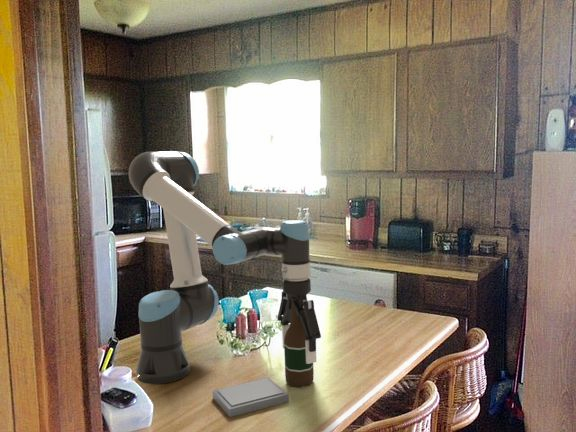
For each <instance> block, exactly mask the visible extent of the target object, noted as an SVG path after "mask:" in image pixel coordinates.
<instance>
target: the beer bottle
mask: <svg viewBox="0 0 576 432" xmlns="http://www.w3.org/2000/svg"><path fill="white" fill-rule="evenodd" d="M295 300H296V299H295V298H293V297H291V299H290V301H291V322H290V323H289V324H290V327H289V328H288V330H287V332H286V334H285V338H284V348H283V350H284V373H285V375H284V377H285V382H286V383H287V384H288V385H289V386H290V387H292V388H298V389H299V388H305V387H309V386H311V384H313V382H314V376H315V375H314V371H315V370H314V363H310V364H307V363H306V346H305V339H306V337H307V336H306V334H305V331H304V328H303V325H302V323H301V320H300V317H298V316H297V314H296V311H295V308H293V305H292V301H295Z"/></svg>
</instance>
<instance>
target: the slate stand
mask: <svg viewBox="0 0 576 432" xmlns="http://www.w3.org/2000/svg"><path fill="white" fill-rule="evenodd" d="M289 396H290V394H289V393H288V392H287V391H286V390H284V389H283V388H282V387H281V386H279V384H277V383H276V382H275V381H274V380H272V379H271V378H270V377H265V378H260V379H256V380H252V381H248V382H244V383H241V384H235V385H232V386H227V387H223V388H218V389H215V390H212V399H213V400H214V401H215V402H216V403H217V405H218V406H220V408H221V409H222V410H223V411H224V413H225V414H226V415H227V416H228V417H229V418H232V417H236V416H240V415H243V414H248V413H250V412H251V413H253V412H254V411H256V412H257V411H258V410H263V409H266V408H270V407H273V406H278V405H281V404H284V403H285V404H286V403H289V402H290V397H289Z"/></svg>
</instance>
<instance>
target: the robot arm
mask: <svg viewBox="0 0 576 432" xmlns="http://www.w3.org/2000/svg"><path fill="white" fill-rule="evenodd" d="M128 179H129V182H130V184H131V186H132V188H133V189H134V191H136V193H138V194H139V195H140V196H141V197H142V198H144V200H146V201H149V202H152V201H153V202H155V203H156V204H157V205H158V206H160V207H161V208H162V210H163V217H164V221H165V222H164V223H165V231H166V235H167V236H166V237H167V242H168V248H169V255H170V262H171V266H172V267H171V268H172V269H171V270H172V274H173V280H172V282H171V283H170V285H169V287H170V288H169V289H162V290H160V291H153V292H150V293H149V294H147V295H145V296H143V297H142V298H141V299H140V301H139V303H138V312H137V313H138V314H137V315H138V322H139V323H138V324H139V333H140V334H139V336H140V337H139V338H140V353H139V357H138V361H137V365H136V369H135V372H136V374H139V375H140V376H139V377H138V378H137V377H136V379H137V380H138V381H140V382H141V383H143V384H151V385H159V384H161V385H162V384H168V383H173V382H177V381H179V380H181V379H183V378H185V377H186V376H188V375H189V374H190V371H191V368H190V361H189V358H188V357H187V354H186V351H185V349H184V345H183V336H182V335H183V334H182V333H183V332H186V331H188V330H189V329H192V328H194V327H197V326H200V325H203V324H205V323H206V322H208V321H210V320H211V319H212V318H214V316H215V315H216V313H217V311H218V308H219V295H218V292H217V291H216V290H215V289H214V287H213V286H212V285H211V284H209V281H208V280H209V279H208V278H206V277H205V276H204V275H203V273H202V272H203V271H202V267H201V260H200V255H199V254H200V253H199V246H198V241H197V236H198V237H199V238H200V239H201V240H203V241H204V242H205V243H206V244H208V245H209V246H210V247H212V253H213V256H214V258H215V260H216V261H217V262H218V263H219V264H221V265H225V266H229V265H235V264H236V265H237V264H240V263H242V262H244V261H248V260H251V259H255V258H258V257H261V256H264V255H265V256H266V255H269V256H281V272H282V278H283V280H282V291H281V299H280V305H279V310H278V314H277V315H278V316H277V321H278V322H280V325H281V331H282V333H281V335H282V348H283V349H284V338H285V334H286V332H287V330H288V328H289V327H290V322H291V301H290V299H291V297H293V298H295V299H296V300H295V301H292V305H293V308H295V311H296V314H297V316H298V317H300V320H301V323H302V325H303V328H304V331H305V334H306V336H307V337H306V339H305V346H306V363H307V364H310V363H313V364H315V363H317V340H318V339H321V338H322V336H321V335H322V334H321V331H320V327H319V324H318V318H317V315H316V311H315V302H314V300H313V299H311V300H310V299H309V300H308V297H307V295H308V294H310V292H311V290H312V287H311V285H312V284H311V283H312V282H311V279H310V277H311V261H310V239H311V238H310V230H309V223H308V222H307V221H305V220H302V219H301V220H299V219H297V220H296V219H295V220H293V219H291V220H290V219H289V220H284V221H282V222H281V223H280V227H271V226H270V227H269V226H267V227H266V226H261V225H257V226H248V227H246V228H245V229H244V231H240V230H238V229H236V228H235V227H233V226H232V224H230V223H228V222H227V221H225V220H224V219H223V218H222V217H220V216H219V215H218V214H217V213H215V212H214V211H213V210H212V209H210V208H208V207H207V206H206V205H205V204H203V203H202V202H201V201H200V200H198V199H197V198H196V197H194V194H195V188H194V186H195V185H196V184H197V183H198V180H199V179H200V169H199V166H198V163H197V162H196V159H194V157H192V156H191V155H190V153H189V154H188V153H187V152H184V151H178V150H177V151H176V150H170V151H145V152H142V153H140V154H138V155H137V156H135V157H134V158H133V160H132V161H131V163H130V165H129V168H128ZM136 374H135V375H136Z"/></svg>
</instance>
